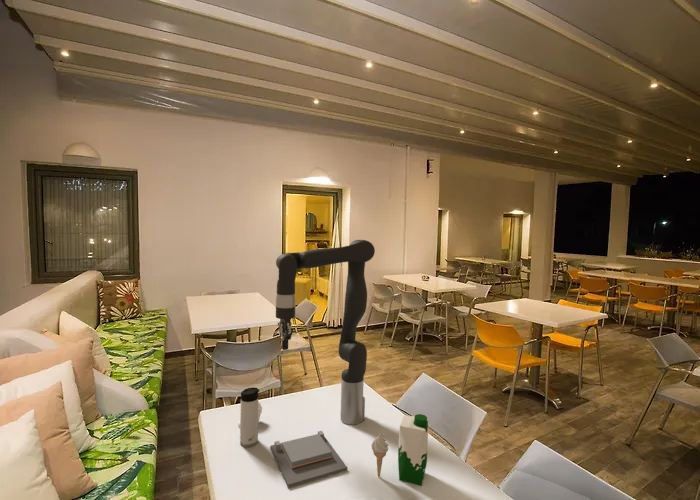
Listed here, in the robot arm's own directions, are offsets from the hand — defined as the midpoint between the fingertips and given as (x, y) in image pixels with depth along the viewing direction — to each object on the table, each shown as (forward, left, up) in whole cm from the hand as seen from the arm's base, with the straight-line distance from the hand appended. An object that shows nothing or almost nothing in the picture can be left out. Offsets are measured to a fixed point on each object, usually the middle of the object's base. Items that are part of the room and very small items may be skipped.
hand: (284, 349), depth 142 cm
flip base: (-2, +22, -32) cm, 39 cm away
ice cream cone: (-20, +40, -32) cm, 55 cm away
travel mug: (+14, +4, -32) cm, 35 cm away
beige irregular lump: (+12, -8, -32) cm, 35 cm away
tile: (-2, +15, -30) cm, 34 cm away
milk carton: (-30, +44, -32) cm, 62 cm away
